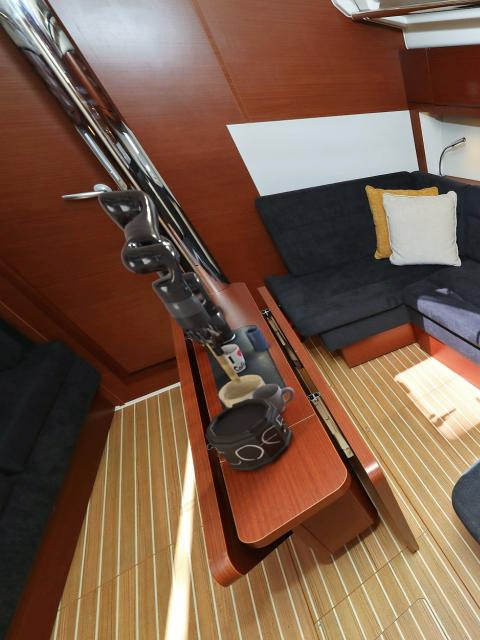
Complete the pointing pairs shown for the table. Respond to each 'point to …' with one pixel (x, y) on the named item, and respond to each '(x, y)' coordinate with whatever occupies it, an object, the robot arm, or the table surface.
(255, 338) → the crock
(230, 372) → the stick
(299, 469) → the table surface
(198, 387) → the table surface
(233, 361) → the cup
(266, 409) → the dark octagonal canister
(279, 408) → the mug
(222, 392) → the bowl
